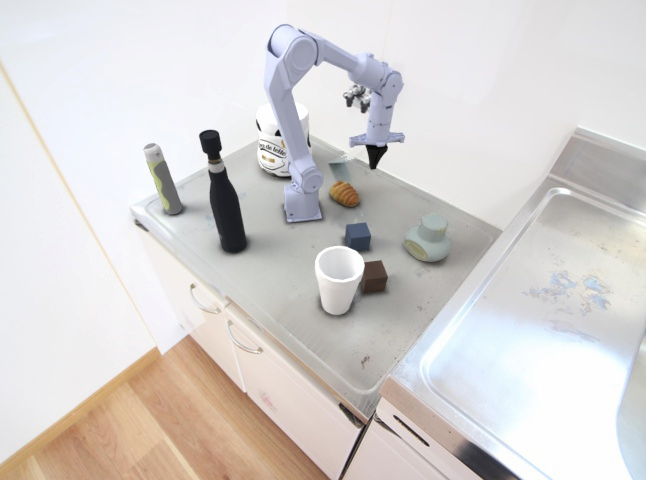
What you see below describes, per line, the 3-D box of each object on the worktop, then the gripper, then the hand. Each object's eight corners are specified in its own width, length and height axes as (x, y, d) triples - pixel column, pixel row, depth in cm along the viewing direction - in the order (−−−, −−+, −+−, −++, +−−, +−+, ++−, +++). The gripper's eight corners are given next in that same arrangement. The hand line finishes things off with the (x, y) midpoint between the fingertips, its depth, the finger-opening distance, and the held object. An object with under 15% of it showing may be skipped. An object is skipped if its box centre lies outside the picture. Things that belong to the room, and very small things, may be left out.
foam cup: (312, 287, 78) (313, 247, 68) (352, 284, 78) (358, 244, 69) (317, 323, 72) (318, 284, 62) (361, 319, 72) (368, 280, 62)
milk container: (257, 182, 106) (249, 126, 93) (261, 153, 118) (254, 100, 105) (312, 181, 106) (313, 125, 93) (311, 152, 118) (311, 98, 104)
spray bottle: (173, 217, 96) (148, 152, 81) (162, 211, 97) (135, 147, 83) (186, 208, 98) (164, 143, 83) (175, 202, 100) (151, 138, 85)
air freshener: (396, 245, 86) (404, 215, 79) (418, 232, 90) (428, 202, 82) (430, 272, 80) (442, 241, 73) (453, 256, 84) (466, 226, 76)
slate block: (349, 252, 85) (351, 238, 82) (344, 238, 89) (346, 224, 85) (368, 250, 86) (371, 235, 82) (363, 236, 89) (366, 222, 85)
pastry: (364, 202, 98) (366, 192, 96) (346, 211, 96) (347, 200, 93) (344, 187, 104) (345, 176, 101) (326, 195, 101) (326, 184, 98)
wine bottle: (251, 239, 89) (231, 128, 67) (240, 255, 85) (215, 144, 63) (229, 233, 91) (202, 124, 68) (217, 250, 87) (185, 139, 64)
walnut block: (363, 293, 77) (365, 279, 73) (357, 276, 80) (359, 262, 76) (384, 291, 77) (388, 276, 73) (378, 274, 80) (381, 260, 77)
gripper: (355, 130, 82) (350, 178, 92) (413, 124, 83) (402, 173, 94) (348, 116, 87) (344, 164, 97) (403, 112, 88) (393, 159, 98)
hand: (372, 167), depth 96 cm, fingers closed
